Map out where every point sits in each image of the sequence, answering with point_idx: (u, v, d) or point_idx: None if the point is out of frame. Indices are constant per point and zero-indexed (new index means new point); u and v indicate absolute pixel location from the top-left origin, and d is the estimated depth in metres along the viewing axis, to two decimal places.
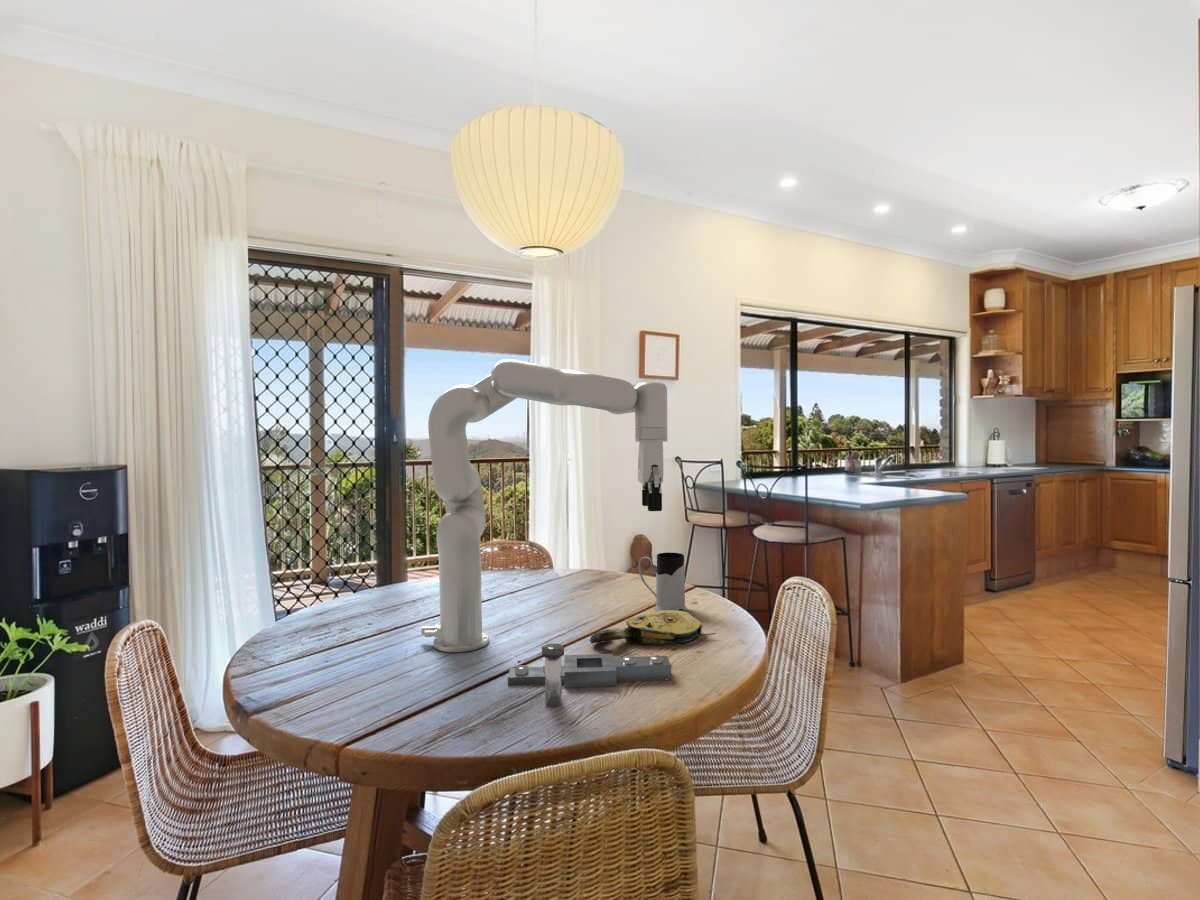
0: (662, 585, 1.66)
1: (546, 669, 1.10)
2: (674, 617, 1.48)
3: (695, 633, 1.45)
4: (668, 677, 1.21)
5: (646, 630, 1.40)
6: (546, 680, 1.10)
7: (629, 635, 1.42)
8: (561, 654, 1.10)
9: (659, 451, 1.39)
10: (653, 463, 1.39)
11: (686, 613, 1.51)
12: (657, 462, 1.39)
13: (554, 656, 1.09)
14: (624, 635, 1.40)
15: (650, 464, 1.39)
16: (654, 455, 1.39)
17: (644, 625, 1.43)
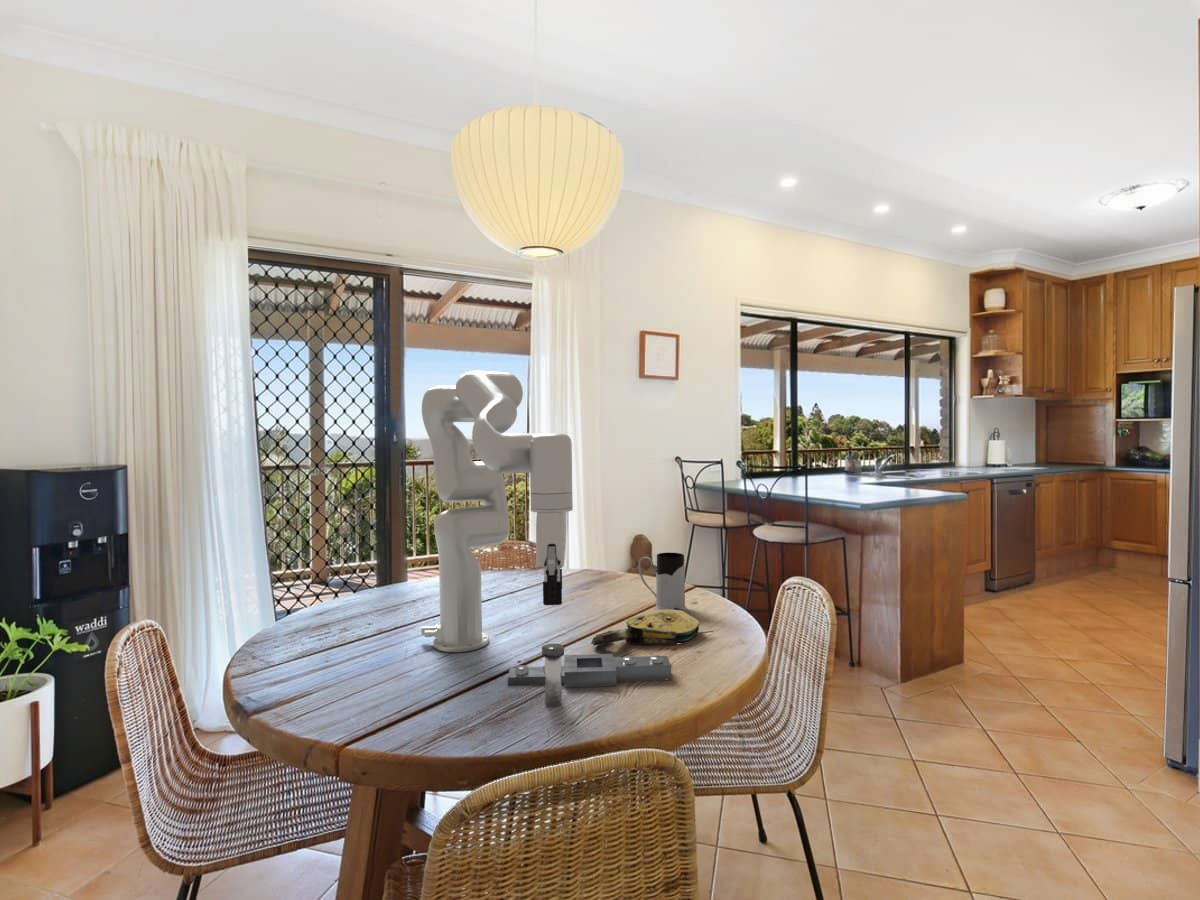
0: (662, 585, 1.66)
1: (546, 669, 1.10)
2: (672, 616, 1.49)
3: (694, 631, 1.46)
4: (668, 677, 1.21)
5: (647, 630, 1.40)
6: (546, 680, 1.10)
7: (630, 636, 1.41)
8: (561, 654, 1.10)
9: (558, 526, 1.06)
10: (550, 542, 1.05)
11: (682, 612, 1.52)
12: (555, 540, 1.05)
13: (554, 656, 1.09)
14: (626, 636, 1.40)
15: (546, 543, 1.05)
16: (551, 531, 1.05)
17: (645, 625, 1.42)
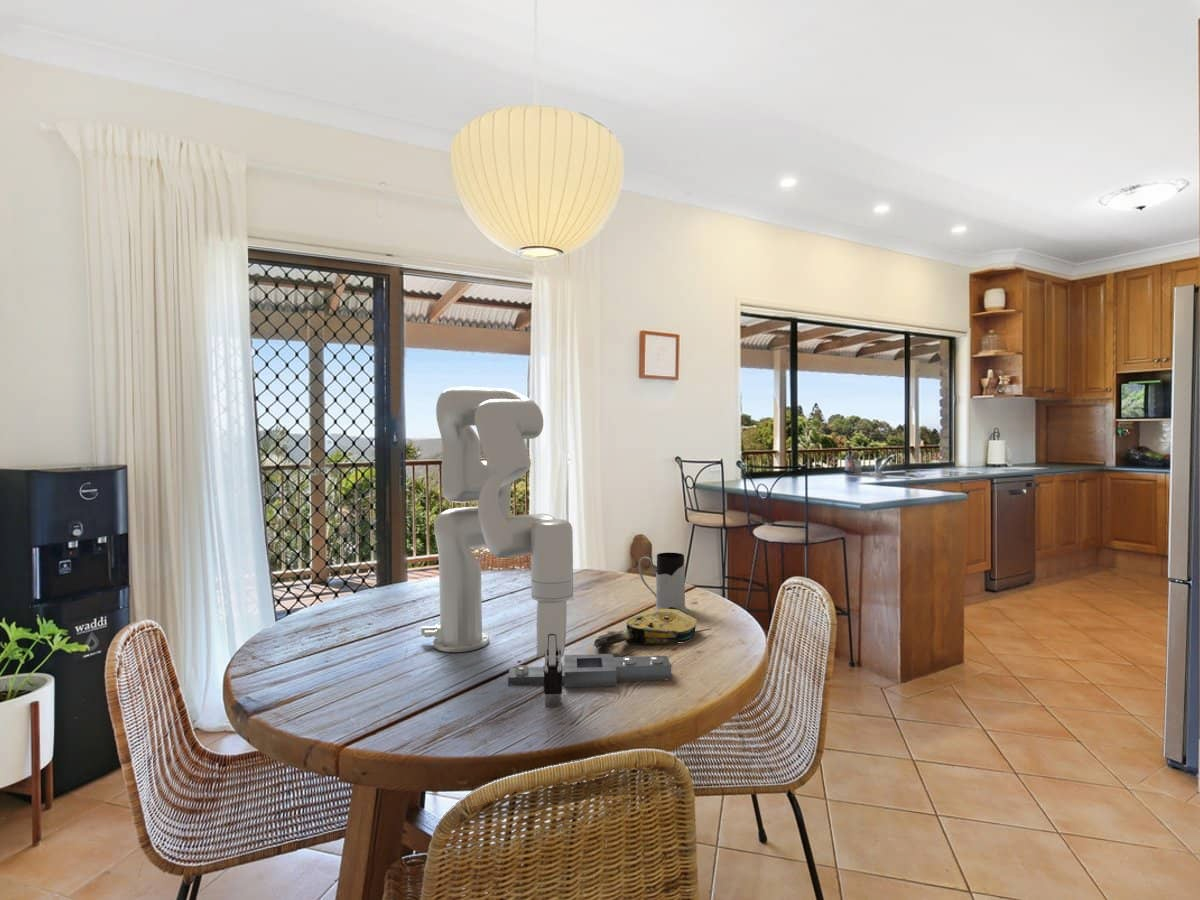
0: (662, 585, 1.66)
1: None
2: (669, 615, 1.49)
3: (692, 630, 1.47)
4: (668, 677, 1.21)
5: (649, 630, 1.40)
6: None
7: (631, 636, 1.41)
8: None
9: (558, 615, 1.06)
10: (550, 632, 1.06)
11: (678, 611, 1.53)
12: (555, 630, 1.06)
13: None
14: (628, 637, 1.39)
15: (546, 633, 1.06)
16: (551, 621, 1.06)
17: (645, 625, 1.42)
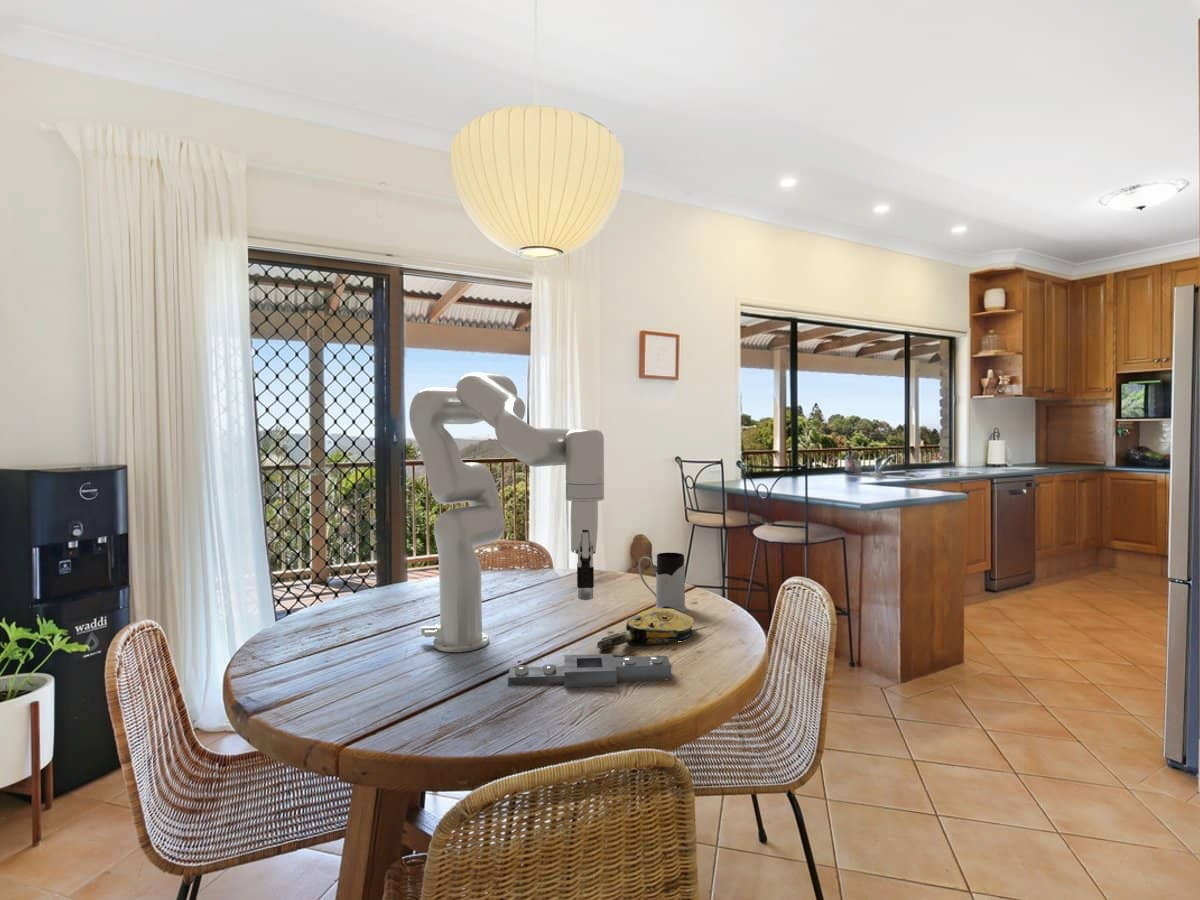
0: (662, 585, 1.66)
1: None
2: (666, 615, 1.50)
3: (689, 628, 1.48)
4: (668, 677, 1.21)
5: (651, 630, 1.40)
6: None
7: (633, 637, 1.40)
8: (593, 552, 1.19)
9: (591, 513, 1.16)
10: (583, 528, 1.15)
11: (674, 610, 1.53)
12: (588, 527, 1.16)
13: None
14: (630, 638, 1.38)
15: (580, 529, 1.15)
16: (585, 518, 1.16)
17: (646, 625, 1.42)
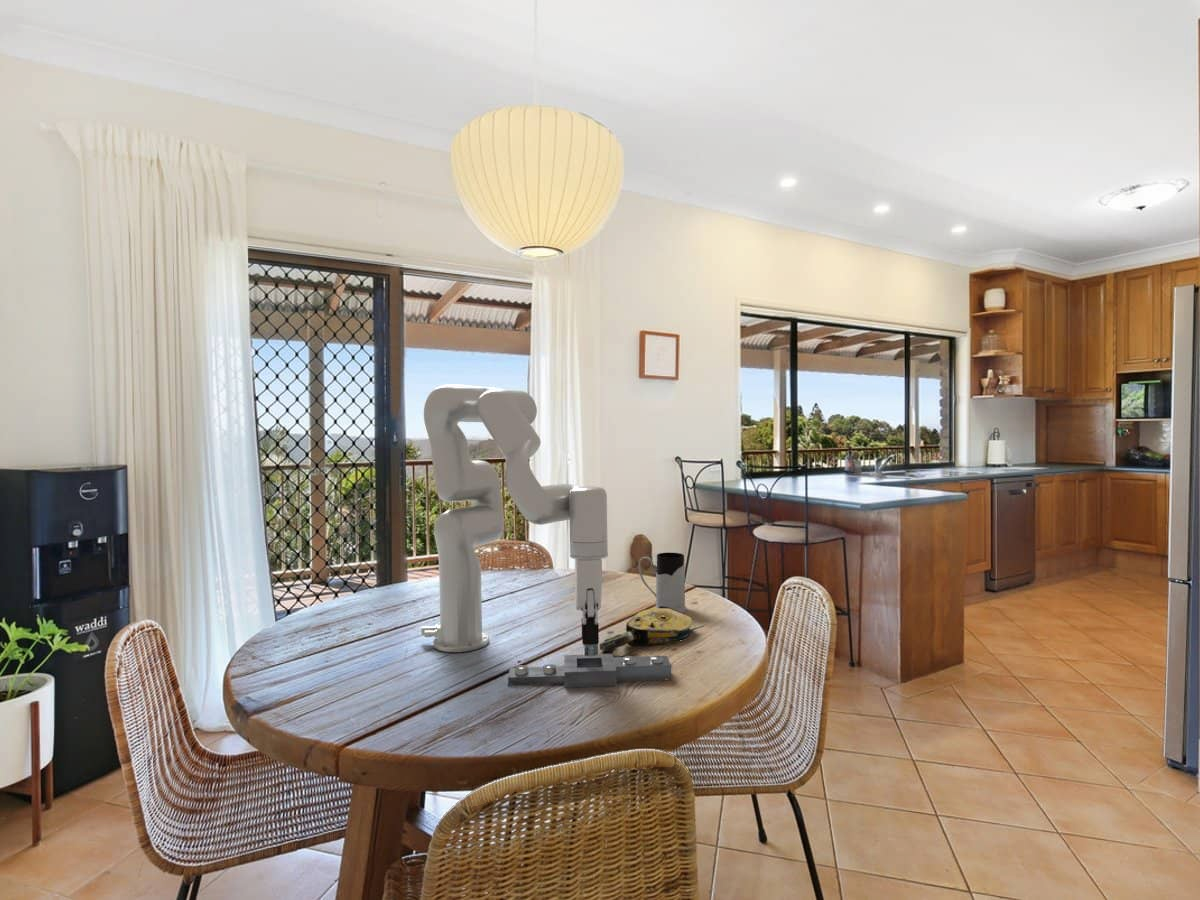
0: (662, 585, 1.66)
1: None
2: (664, 615, 1.50)
3: None
4: (668, 677, 1.21)
5: (652, 630, 1.40)
6: None
7: (634, 638, 1.40)
8: None
9: (596, 572, 1.17)
10: (588, 586, 1.17)
11: (670, 610, 1.54)
12: (593, 585, 1.17)
13: None
14: None
15: (585, 588, 1.17)
16: (590, 577, 1.17)
17: (647, 626, 1.42)
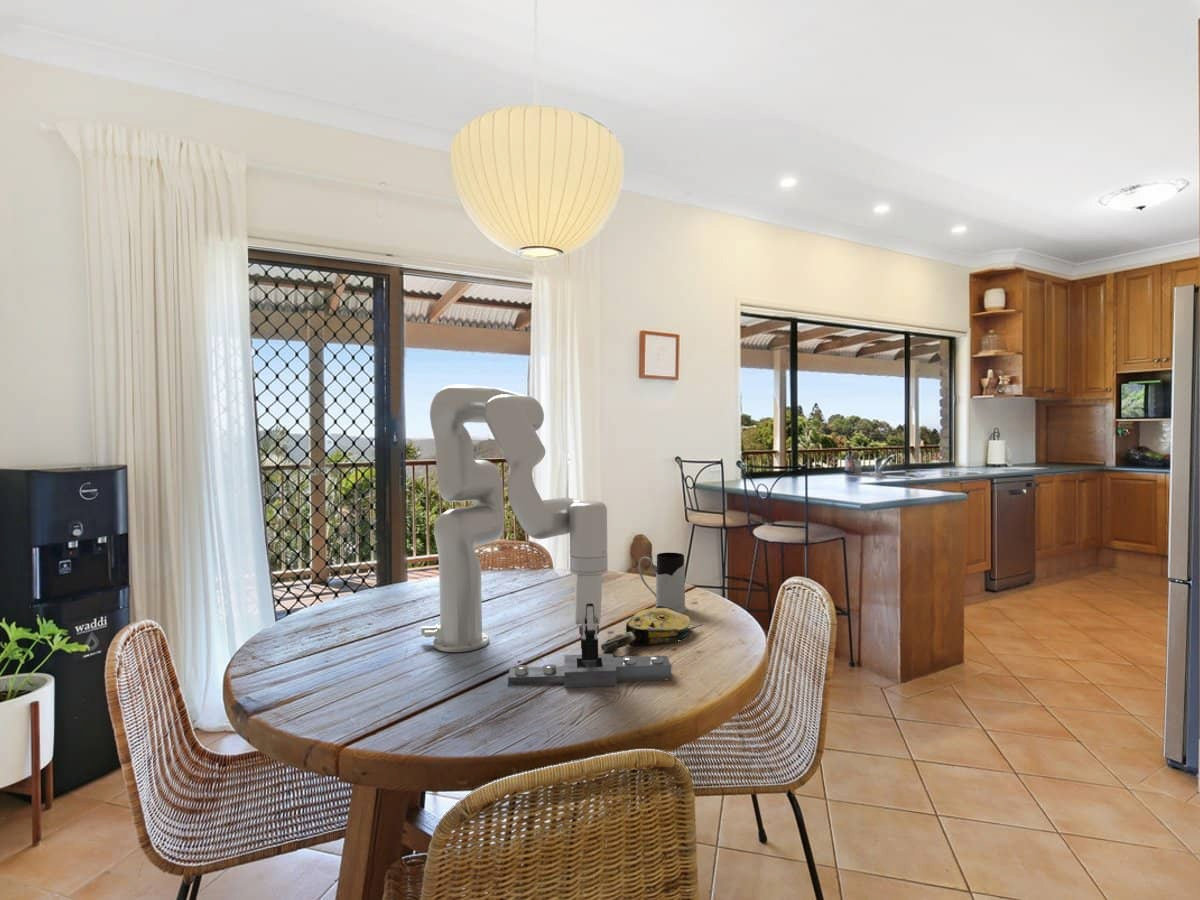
0: (662, 585, 1.66)
1: None
2: (663, 614, 1.50)
3: None
4: (668, 677, 1.21)
5: (652, 630, 1.40)
6: None
7: (635, 638, 1.40)
8: (597, 632, 1.21)
9: (595, 587, 1.17)
10: (588, 602, 1.17)
11: (668, 609, 1.54)
12: (593, 600, 1.17)
13: None
14: None
15: (584, 603, 1.17)
16: (589, 592, 1.17)
17: (647, 625, 1.42)
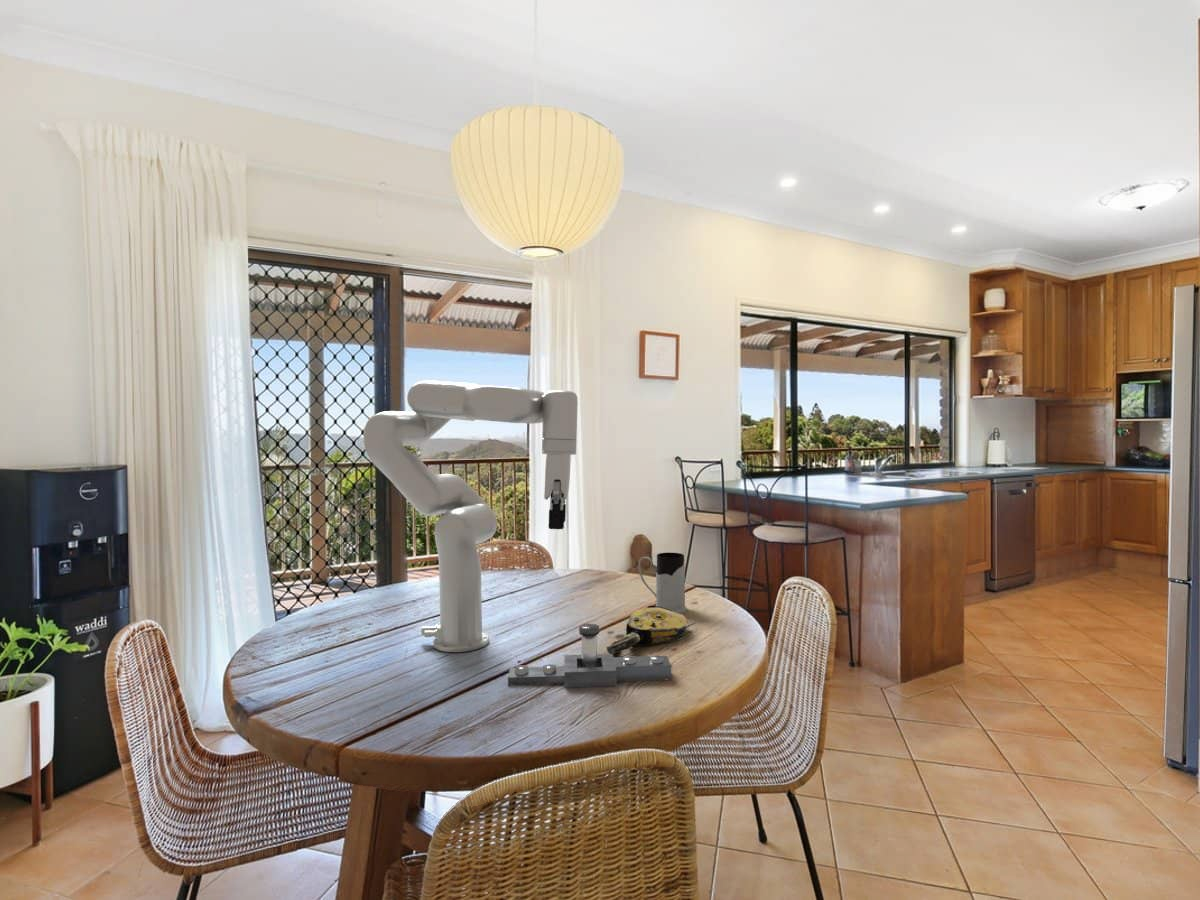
0: (662, 585, 1.66)
1: (583, 646, 1.21)
2: (658, 614, 1.51)
3: None
4: (668, 677, 1.21)
5: (655, 630, 1.40)
6: (583, 656, 1.22)
7: None
8: (597, 633, 1.21)
9: (563, 465, 1.30)
10: (556, 478, 1.29)
11: (661, 608, 1.55)
12: (560, 477, 1.29)
13: (591, 634, 1.20)
14: None
15: (552, 479, 1.29)
16: (557, 469, 1.29)
17: (648, 625, 1.42)
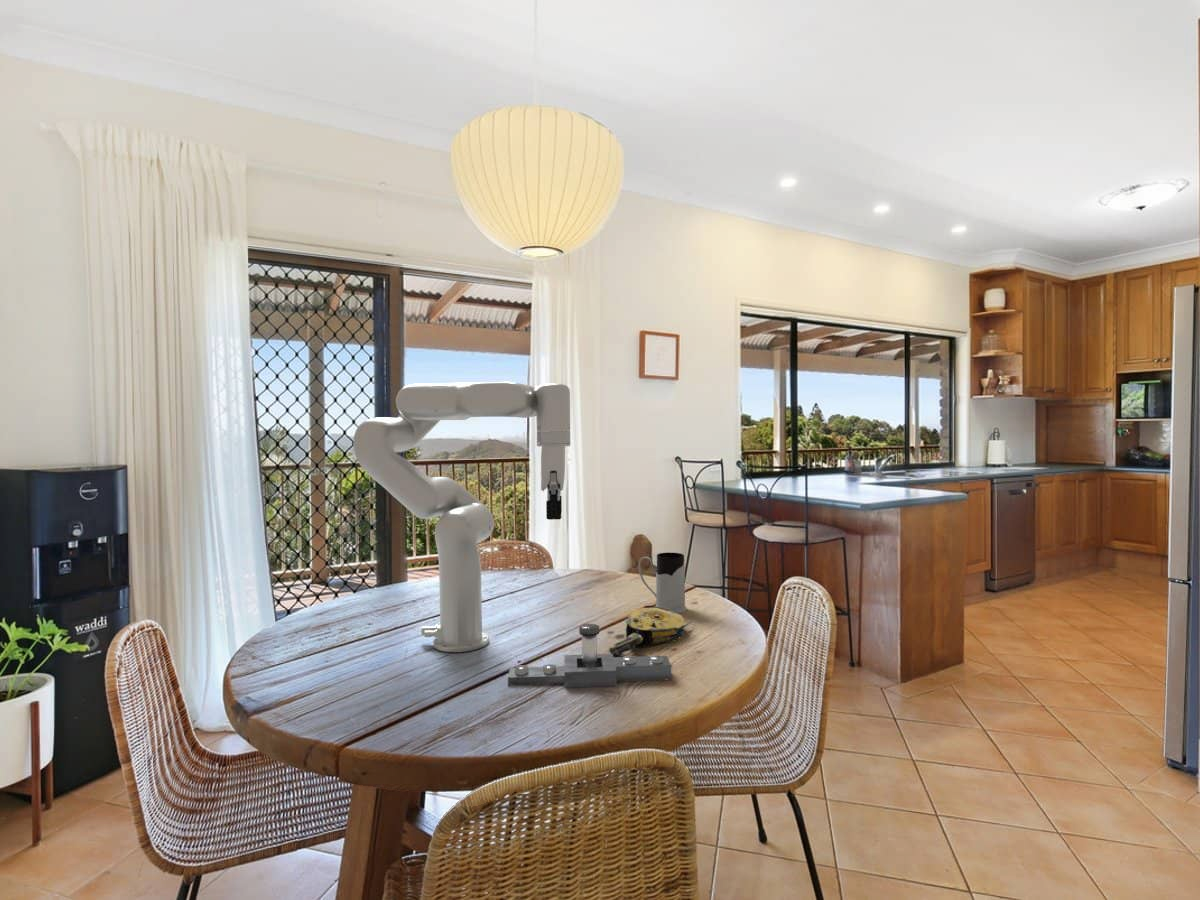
0: (662, 585, 1.66)
1: (583, 646, 1.21)
2: (656, 614, 1.51)
3: None
4: (668, 677, 1.21)
5: (655, 630, 1.40)
6: (583, 656, 1.22)
7: None
8: (597, 633, 1.21)
9: (558, 456, 1.32)
10: (552, 469, 1.32)
11: (658, 608, 1.55)
12: (556, 468, 1.32)
13: (591, 634, 1.20)
14: None
15: (548, 470, 1.32)
16: (553, 460, 1.32)
17: (648, 626, 1.42)
